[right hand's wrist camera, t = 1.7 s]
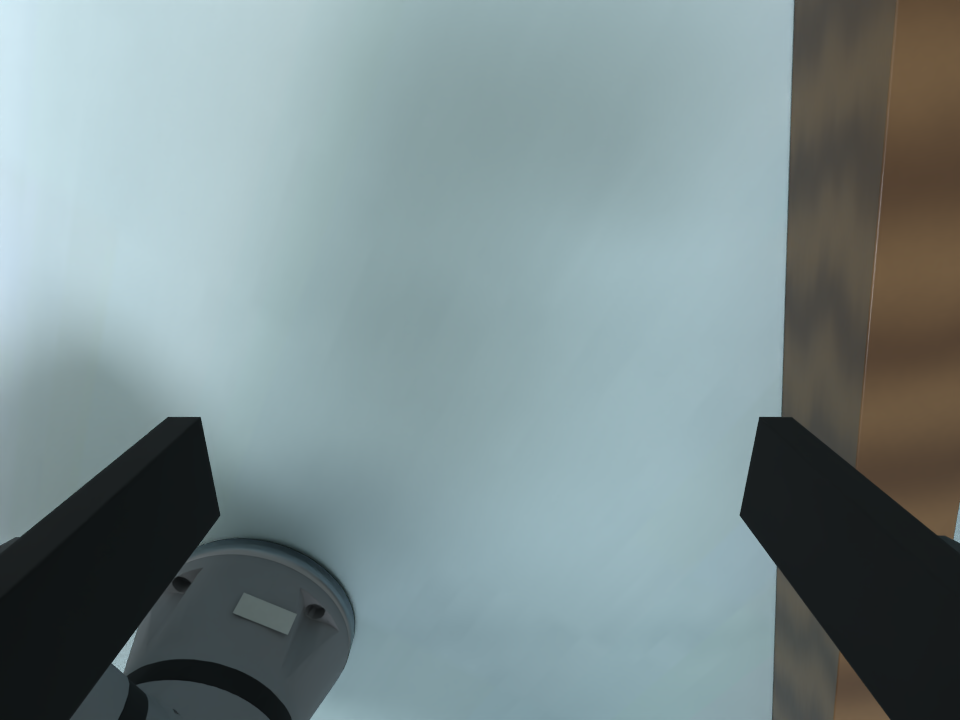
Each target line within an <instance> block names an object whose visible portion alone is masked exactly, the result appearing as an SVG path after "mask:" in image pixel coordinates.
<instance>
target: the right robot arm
mask: <svg viewBox="0 0 960 720" xmlns="http://www.w3.org/2000/svg"><path fill="white" fill-rule="evenodd" d="M219 517H220V512H219V507H218V502H217V497H216V492H215V487H214V482H213V477H212V472H211V467H210V462H209V457H208V452H207V447H206V442H205V437H204V432H203V427H202V422H201V417H167V418H166V419H165V420H164V421H163V422H161V423H160V424H159V425H158V426H156V427H155V428H154V429H153V430H152V431H150V432H149V433H148V434H147V435H145V436H144V437H143V438H142V439H140V440H139V441H138V442H137V443H136V444H134V445H133V446H132V447H131V448H129V449H128V450H127V451H126V452H124V453H123V454H122V455H121V456H120V457H118V458H117V459H116V460H115V461H113V462H112V463H111V464H110V465H108V466H107V467H106V468H105V469H104V470H102V471H101V472H100V473H99V474H97V475H96V476H95V477H94V478H93V479H91V480H90V481H89V482H88V483H86V484H85V485H84V486H83V487H81V488H80V489H79V490H78V491H77V492H75V493H74V494H73V495H72V496H70V497H69V498H68V499H67V500H65V501H64V502H63V503H62V504H61V505H59V506H58V507H57V508H56V509H54V510H53V511H52V512H51V513H49V514H48V515H47V516H46V517H45V518H43V519H42V520H41V521H40V522H38V523H37V524H36V525H35V526H34V527H32V528H31V529H30V530H29V531H27V532H26V533H25V534H24V535H22V536H21V537H15V538H14V539H12V540H10V541H8V542H6V543H4V544H2V545H1V546H0V720H310V718H311V717H312V716H313V714H314V713H315V711H316V710H317V708H318V707H319V705H320V704H321V703H322V701H323V700H324V698H325V697H326V695H327V694H328V692H329V691H330V690H331V688H332V687H333V685H334V684H335V682H336V681H337V679H338V678H339V676H340V674H341V672H342V671H343V669H344V667H345V665H346V662H347V659H348V656H349V652H350V649H351V645H352V641H353V637H354V630H355V622H354V615H353V610H352V607H351V604H350V602H349V600H348V597H347V595H346V594H345V592H344V590H343V589H342V587H341V586H340V585H339V583H338V582H337V581H336V580H335V579H334V578H333V576H332V575H331V574H330V573H329V572H327V571H326V570H325V569H324V568H323V567H322V566H320V565H319V564H318V563H316V562H315V561H313V560H312V559H310V558H308V557H307V556H305V555H303V554H301V553H299V552H297V551H295V550H293V549H290V548H288V547H285V546H282V545H279V544H275V543H271V542H267V541H261V540H254V539H226V540H220V541H215V542H211V543H207V544H204V545H201V546H198V545H199V544H200V542H201V541H202V540H203V538H204V537H205V536H206V534H207V533H208V531H209V530H210V529H211V527H212V526H213V525H214V523H215V522H216V521H217V519H218V518H219ZM740 517H741V518H742V519H743V521H744V522H745V523H746V525H747V526H748V527H749V529H750V530H751V531H752V533H753V534H754V536H755V537H756V538H757V540H758V541H759V542H760V544H761V545H762V546H763V548H764V549H765V550H766V552H767V553H768V554H769V556H770V557H771V559H772V560H773V561H774V563H775V564H776V565H777V567H778V568H779V569H780V571H781V572H782V573H783V575H784V576H785V578H786V579H787V580H788V582H789V583H790V584H791V586H792V587H793V588H794V590H795V591H796V592H797V594H798V595H799V597H800V598H801V599H802V601H803V602H804V603H805V605H806V606H807V607H808V609H809V610H810V611H811V613H812V614H813V616H814V617H815V618H816V620H817V621H818V622H819V624H820V625H821V626H822V628H823V629H824V630H825V632H826V633H827V635H828V636H829V637H830V639H831V640H832V641H833V643H834V644H835V645H836V647H837V648H838V649H839V651H840V652H841V653H842V655H843V656H844V658H845V659H846V660H847V662H848V663H849V664H850V666H851V667H852V668H853V670H854V671H855V672H856V674H857V675H858V677H859V678H860V679H861V681H862V682H863V683H864V685H865V686H866V687H867V689H868V690H869V691H870V693H871V694H872V696H873V697H874V698H875V700H876V701H877V702H878V704H879V705H880V706H881V708H882V709H883V710H884V712H885V713H886V715H887V716H888V717H889V719H890V720H960V543H958V542H956V541H954V540H953V539H951V538H949V537H947V536H945V535H936V534H935V533H934V532H933V531H931V530H930V529H929V528H928V527H926V526H925V525H924V524H923V523H922V522H920V521H919V520H918V519H917V518H915V517H914V516H913V515H912V514H911V513H909V512H908V511H907V510H906V509H904V508H903V507H902V506H901V505H899V504H898V503H897V502H896V501H895V500H893V499H892V498H891V497H890V496H888V495H887V494H886V493H885V492H883V491H882V490H881V489H880V488H879V487H877V486H876V485H875V484H874V483H872V482H871V481H870V480H869V479H867V478H866V477H865V476H864V475H863V474H861V473H860V472H859V471H858V470H856V469H855V468H854V467H853V466H852V465H850V464H849V463H848V462H847V461H845V460H844V459H843V458H842V457H840V456H839V455H838V454H837V453H836V452H834V451H833V450H832V449H831V448H829V447H828V446H827V445H826V444H824V443H823V442H822V441H821V440H820V439H818V438H817V437H816V436H815V435H813V434H812V433H811V432H810V431H808V430H807V429H806V428H805V427H804V426H802V425H801V424H800V423H799V422H797V421H796V420H795V419H794V418H793V417H759V422H758V427H757V432H756V437H755V442H754V447H753V452H752V457H751V462H750V467H749V472H748V477H747V482H746V487H745V492H744V497H743V502H742V507H741V512H740ZM197 546H198V547H197ZM137 628H138V629H137ZM136 629H137V632H136V636H135V639H134V642H133V645H132V648H131V651H130V654H129V657H128V661H127V664H126V667H125V670H124V673H122V672H121V671H120V670H119V669H117V668H116V667H115V666H114V665H113V664H112V662H113V660H114V659H115V658H116V656H117V655H118V653H119V652H120V651H121V649H122V648H123V647H124V645H125V644H126V643H127V641H128V640H129V639H130V637H131V636H132V635H133V633H134V632H135V630H136Z"/></svg>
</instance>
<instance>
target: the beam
mask: <svg viewBox="0 0 960 720" xmlns="http://www.w3.org/2000/svg"><path fill="white" fill-rule="evenodd" d="M782 417H793V418H794V419H795V420H796V421H797V422H799V423H800V424H801V425H802V426H804V427H805V428H806V429H807V430H808V431H810V432H811V433H812V434H813V435H815V436H816V437H817V438H818V439H820V440H821V441H822V442H823V443H824V444H826V445H827V446H828V447H829V448H831V449H832V450H833V451H834V452H836V453H837V454H838V455H839V456H840V457H842V458H843V459H844V460H845V461H847V462H848V463H849V464H850V465H852V466H853V467H854V468H855V469H856V470H858V471H859V472H860V473H861V474H863V475H864V476H865V477H866V478H867V479H869V480H870V481H871V482H872V483H874V484H875V485H876V486H877V487H879V488H880V489H881V490H882V491H883V492H885V493H886V494H887V495H888V496H890V497H891V498H892V499H893V500H895V501H896V502H897V503H898V504H899V505H901V506H902V507H903V508H904V509H906V510H907V511H908V512H909V513H911V514H912V515H913V516H914V517H915V518H917V519H918V520H919V521H920V522H922V523H923V524H924V525H925V526H926V527H928V528H929V529H930V530H931V531H933V532H934V533H935V534H936V535H945V536H947V537H949V538H951V539H953V538H954V532H955V527H956V521H957V515H958V509H959V503H960V0H795V12H794V44H793V76H792V109H791V141H790V173H789V205H788V237H787V269H786V301H785V334H784V366H783V398H782ZM773 720H890V719H889V717H888V716H887V715H886V713H885V712H884V710H883V709H882V708H881V706H880V705H879V704H878V702H877V701H876V700H875V698H874V697H873V696H872V694H871V693H870V691H869V690H868V689H867V687H866V686H865V685H864V683H863V682H862V681H861V679H860V678H859V677H858V675H857V674H856V672H855V671H854V670H853V668H852V667H851V666H850V664H849V663H848V662H847V660H846V659H845V658H844V656H843V655H842V653H841V652H840V651H839V649H838V648H837V647H836V645H835V644H834V643H833V641H832V640H831V639H830V637H829V636H828V635H827V633H826V632H825V630H824V629H823V628H822V626H821V625H820V624H819V622H818V621H817V620H816V618H815V617H814V616H813V614H812V613H811V611H810V610H809V609H808V607H807V606H806V605H805V603H804V602H803V601H802V599H801V598H800V597H799V595H798V594H797V592H796V591H795V590H794V588H793V587H792V586H791V584H790V583H789V582H788V580H787V579H786V578H785V576H784V575H783V573H782V572H781V571H780V569H779V568H778V567H777V591H776V623H775V655H774V687H773Z"/></svg>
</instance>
